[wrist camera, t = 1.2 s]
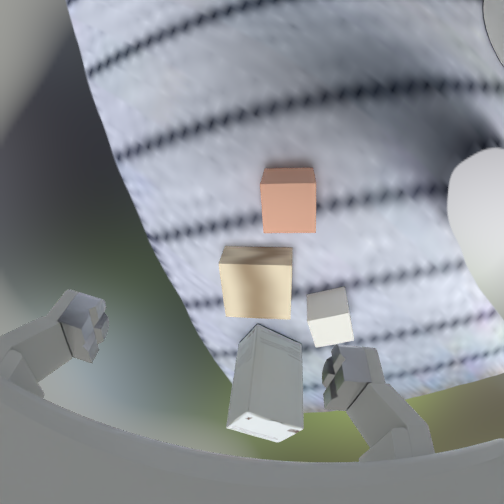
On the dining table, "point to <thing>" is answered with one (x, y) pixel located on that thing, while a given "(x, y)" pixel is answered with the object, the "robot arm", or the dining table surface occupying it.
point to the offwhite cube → (329, 317)
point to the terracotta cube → (288, 200)
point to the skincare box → (267, 386)
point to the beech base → (256, 281)
